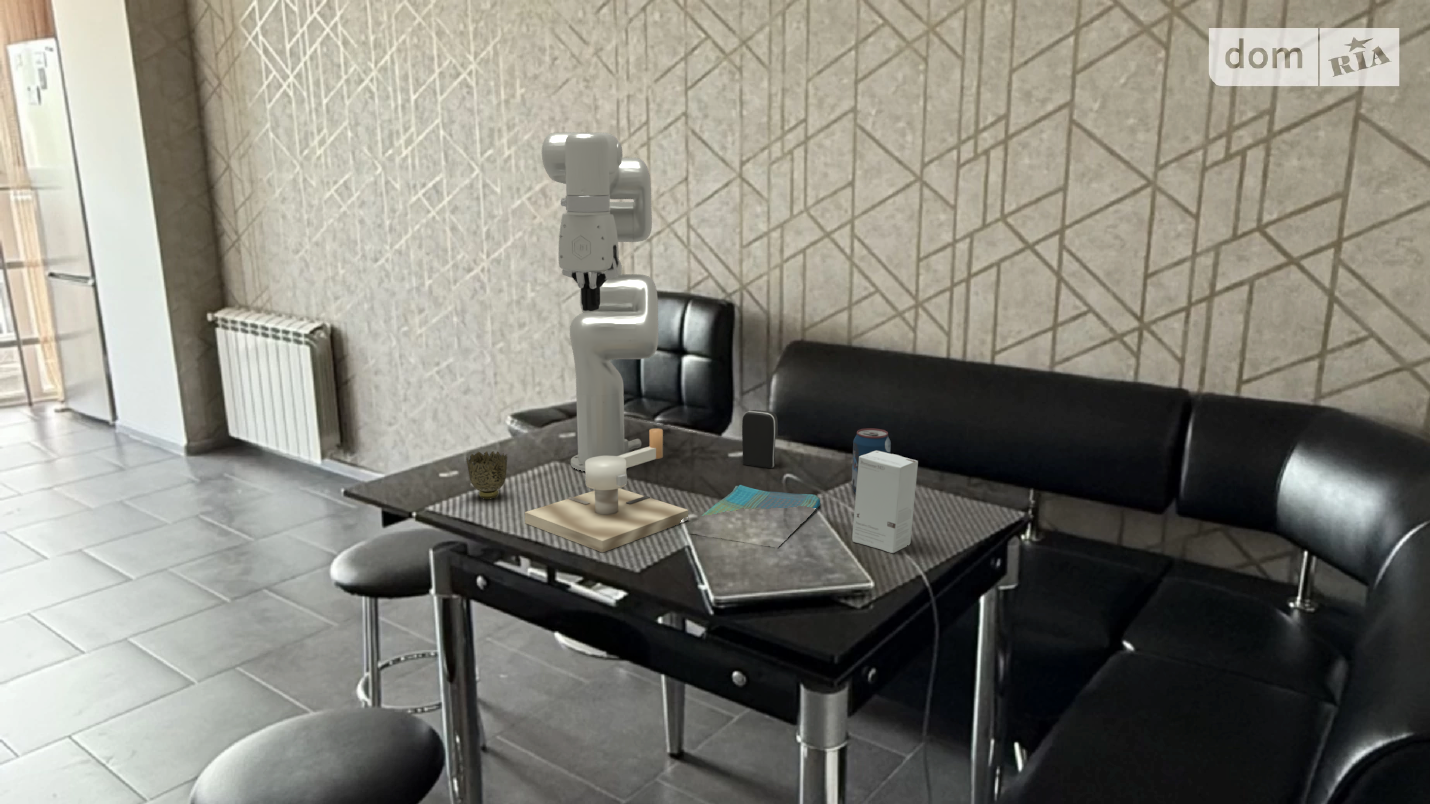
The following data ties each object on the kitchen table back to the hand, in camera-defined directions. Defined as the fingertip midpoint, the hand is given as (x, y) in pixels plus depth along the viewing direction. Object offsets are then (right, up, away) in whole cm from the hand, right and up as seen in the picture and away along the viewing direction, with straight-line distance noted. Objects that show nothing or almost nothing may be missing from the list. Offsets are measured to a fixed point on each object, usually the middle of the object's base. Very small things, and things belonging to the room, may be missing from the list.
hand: (591, 309), depth 186 cm
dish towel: (+30, -38, -3) cm, 48 cm away
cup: (-20, -34, +7) cm, 40 cm away
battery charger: (+32, -30, +28) cm, 51 cm away
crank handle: (+7, -30, -3) cm, 31 cm away
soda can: (+52, -34, +10) cm, 63 cm away
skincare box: (+50, -40, -15) cm, 66 cm away
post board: (+3, -37, -5) cm, 38 cm away
